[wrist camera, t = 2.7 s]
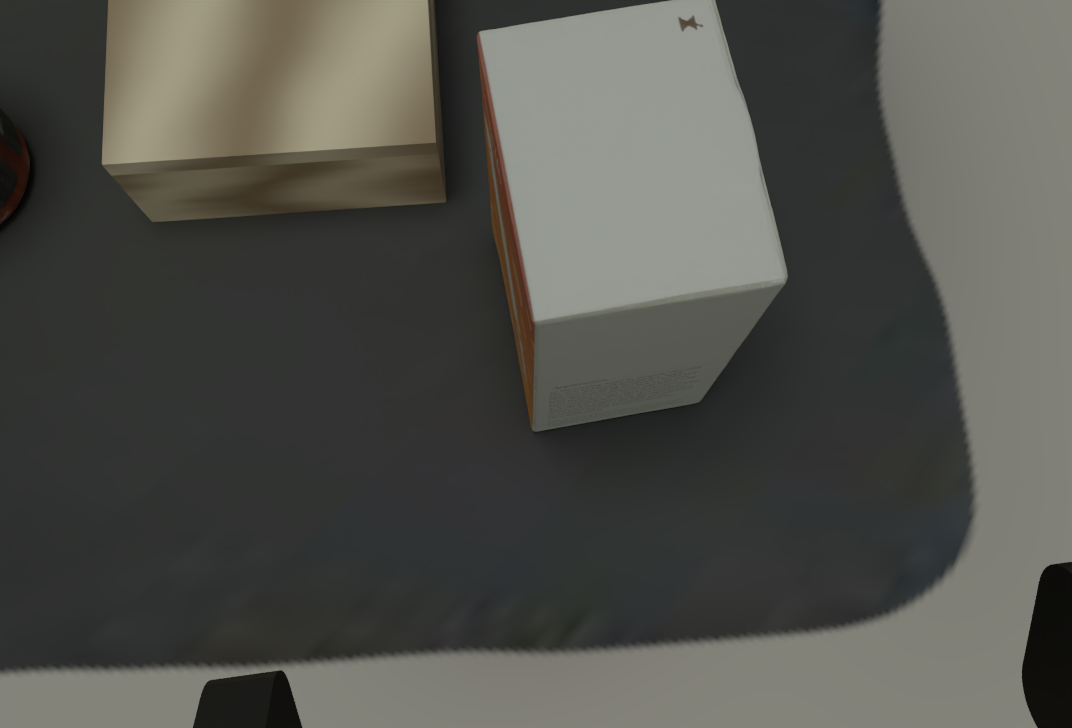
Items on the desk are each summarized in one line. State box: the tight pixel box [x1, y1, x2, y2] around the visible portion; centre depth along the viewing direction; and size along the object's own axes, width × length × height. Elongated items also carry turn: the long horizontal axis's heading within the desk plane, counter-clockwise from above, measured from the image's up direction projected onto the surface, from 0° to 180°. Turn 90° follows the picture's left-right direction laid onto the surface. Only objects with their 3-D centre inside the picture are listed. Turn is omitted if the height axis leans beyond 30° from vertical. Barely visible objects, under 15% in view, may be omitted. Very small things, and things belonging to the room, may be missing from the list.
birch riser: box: [102, 0, 447, 222], centre depth 37 cm, size 11×11×5 cm
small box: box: [477, 0, 788, 432], centre depth 31 cm, size 8×6×13 cm
